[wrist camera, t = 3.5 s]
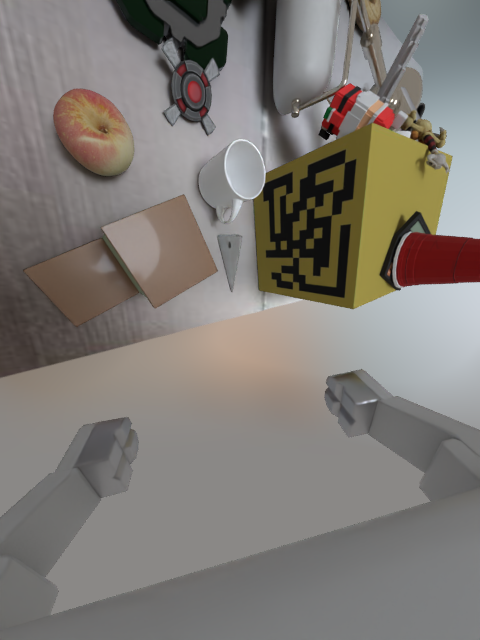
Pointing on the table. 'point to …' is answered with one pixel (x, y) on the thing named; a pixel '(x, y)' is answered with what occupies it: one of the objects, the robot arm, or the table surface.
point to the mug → (232, 178)
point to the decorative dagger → (425, 135)
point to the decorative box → (343, 215)
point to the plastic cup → (436, 260)
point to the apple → (94, 132)
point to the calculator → (411, 225)
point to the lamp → (327, 56)
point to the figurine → (357, 113)
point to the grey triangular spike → (230, 254)
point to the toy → (190, 88)
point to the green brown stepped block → (128, 263)
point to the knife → (402, 59)
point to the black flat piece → (183, 26)
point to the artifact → (369, 12)
